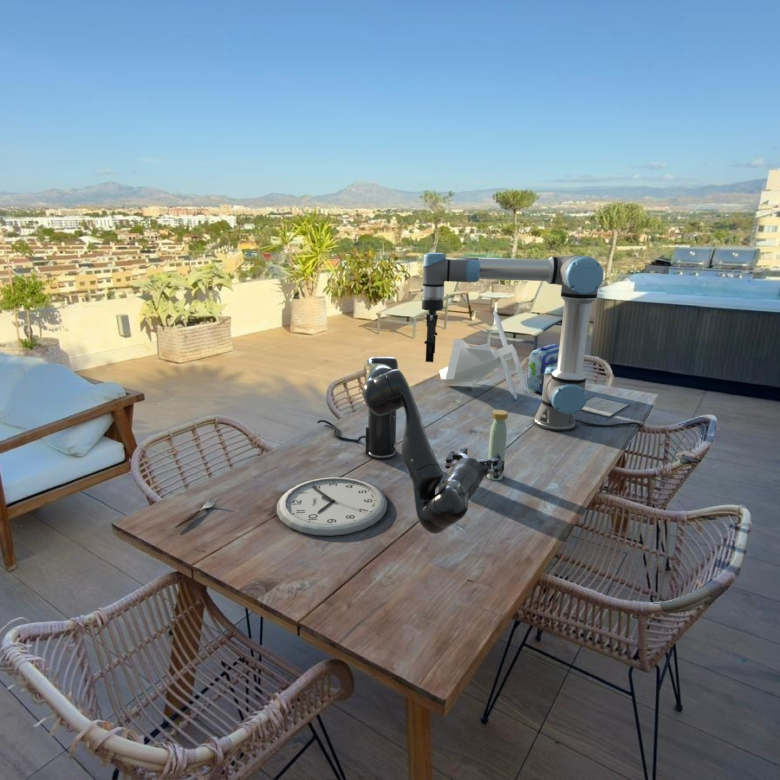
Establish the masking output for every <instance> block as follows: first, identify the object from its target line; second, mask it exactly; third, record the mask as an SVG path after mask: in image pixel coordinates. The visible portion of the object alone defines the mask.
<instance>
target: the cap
mask: <svg viewBox="0 0 780 780" xmlns="http://www.w3.org/2000/svg"><path fill="white" fill-rule="evenodd" d="M508 413H509V412H508V411H507V410H504V409H494V410H492V414H491V416H492V418H493V420H494V419H497V420H505V421H506V420H507V419H508V415H509V414H508Z"/></svg>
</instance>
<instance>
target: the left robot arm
mask: <svg viewBox="0 0 780 780" xmlns="http://www.w3.org/2000/svg"><path fill="white" fill-rule="evenodd" d="M363 377H364V383H363V387H362V394H363V399H364V402H365V404H366V407H367V426H366V427H365V435H360V436H359V437H358V438H356V439H355V438H348V437H344V436H341V435H339V434H337V430H338V429H337V426H336V425H334V424H333V423H332V422H329V420H328V421H327V420H326V419H319V420H318V421H316V424H320V423H324V424H327V425H329V426H330V427H331V428H333V436H334V437H336V438H337V439H340V440H343V441H347V442H355V443H357V442H360V441H361V440H362V439H365V455H366V456H369V457H371V458H372V459H378V460H387V459H391V458H393V457H395V456H396V454H397V452H396V451H397V449H396V448H397V447H396V446H397V445H398V440H397V410H399V409H402V408H403V409H404V414H405V424H404V430H403V431H404V433H403V437H402V442H401V458H402V462H403V465H404V467H405V470H406V473H407V474H408V477H409V479H410V481H411V483H412V491H413V498H414V504H415V511H416V516H417V519H418V521H419V523H420V525H421V526H422V528H423V529H424V530H425V531H426V532H428V533H429V534H433V535H436V534H439V533H442V532H443V531H445V530H447V529H448V528H450V527H451V526H452V525H454V524H455V523H457V522H459V521H460V520H461V519H462V518H464V517H465V515H466V514H467V512H468V509H469V500H470V498H471V497H472V496H473V495H474V494H475V493H476V492H477V490H478V489H479V487H480V485H481V483H482V482H483V480H484V478H485V476H486V477H487V475H488V474H491V475H493V478H495V479H498V478H499V476H500V475H501V474H502V472H503V473H504V471H505V460H504V461H502V460H501V456H499V454H498V453H496V454H495V456H494V458H493V459H489V458H488V457H485V458H481V459H480V458H474V457H473V458H472V457H469V456H468V449H469V448H468V447H463V448H461V449H460V450H459V451H457V452H456V451H454V450H451V451H449V453H448V454H447V455H446V458H445V460H444V468H445V469H447V470H449V469H450V468H451V469H450V470H449V471H448V473H447V475H446V477H445V479H444V474H443V471H442V468H441V466H440V464H439V462H438V459H437V457H436V456H435V454H434V451H433V449H432V446H431V444H430V441H429V439H428V436H427V433H426V430H425V426H424V423H423V420H422V417H421V414H420V411H419V408H418V405H417V402H416V399H415V397H414V395H413V391H412V388H411V387H410V384H409V382H408V380H407V378H406V377H405V375H404V374H403V372H402V371H401V370H400V369H399V362H398V359H397V358H396V357H393V356H377V357H376V356H373V357H372V356H371V357H368V358H367V359H366V360H365V363H364V366H363ZM500 460H501V461H500ZM492 463H493V466H491V464H492ZM443 479H444V480H443ZM438 486H439V488H438ZM437 488H438V491H437V493H436V490H437Z"/></svg>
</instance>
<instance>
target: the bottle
mask: <svg viewBox="0 0 780 780" xmlns="http://www.w3.org/2000/svg"><path fill="white" fill-rule="evenodd" d="M492 421H493V422H492V424H491V426H490V431H489V445H488V457H487V458H489V459H493V458H494V456H495V454H496V453H498V454H499V456H501V460H502V461H505V457H506V456H505V455H506V443H507V434H508V431H507V430H508V429H507V424H506V419H505V420H497V419H494V418H493V420H492ZM501 460H500V461H501ZM491 466H493V463H492V464H491ZM486 477H487V478H488V479H489V480H491V481H501V480H503V477H504V471H503V472H502V474H501V475H500V476H499V478H498V479H495V478H493V475H491V474H488V475H486Z"/></svg>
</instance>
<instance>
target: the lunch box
mask: <svg viewBox="0 0 780 780" xmlns="http://www.w3.org/2000/svg"><path fill="white" fill-rule="evenodd" d="M559 346H560V344H556V343H555V344H554V343H553V344H548V345H545V346H541V347H539V348H536V349H534V350H532V351H531V353H530V355H529V357H528V363H527V375H526V384H527V387H528V390H529V391H532V392H533V391H534V392H539V393H540V394H542V392H543V382H544V373H545V369H546V368H547V367H553V366H557V364H558V355H559Z"/></svg>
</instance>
